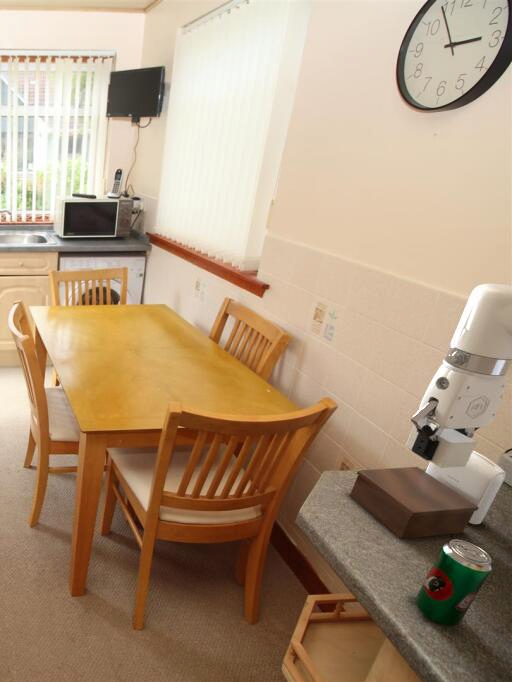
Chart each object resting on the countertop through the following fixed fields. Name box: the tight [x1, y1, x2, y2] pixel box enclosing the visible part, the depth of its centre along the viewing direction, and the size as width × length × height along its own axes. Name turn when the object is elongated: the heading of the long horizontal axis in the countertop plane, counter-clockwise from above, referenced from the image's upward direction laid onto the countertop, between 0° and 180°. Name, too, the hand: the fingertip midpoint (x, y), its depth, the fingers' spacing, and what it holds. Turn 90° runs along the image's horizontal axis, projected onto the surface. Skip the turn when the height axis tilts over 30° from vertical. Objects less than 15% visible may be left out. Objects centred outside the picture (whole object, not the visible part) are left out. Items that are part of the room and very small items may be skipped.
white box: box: [405, 423, 478, 468], centre depth 83 cm, size 5×6×5 cm
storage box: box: [349, 466, 479, 539], centre depth 88 cm, size 13×11×6 cm
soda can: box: [414, 539, 493, 627], centre depth 67 cm, size 5×5×12 cm
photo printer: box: [425, 450, 507, 525], centre depth 89 cm, size 10×4×12 cm, turn 14°
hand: (435, 454), depth 83 cm, fingers closed on white box, 5 cm apart
